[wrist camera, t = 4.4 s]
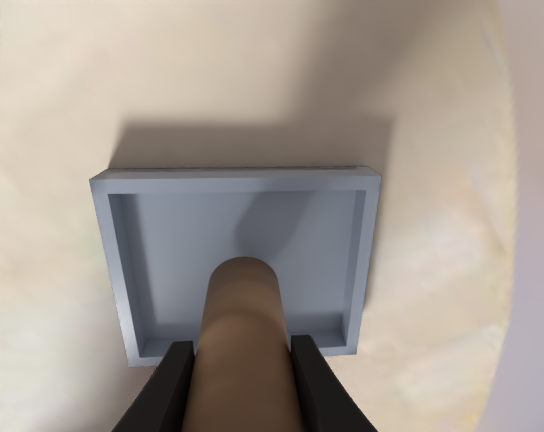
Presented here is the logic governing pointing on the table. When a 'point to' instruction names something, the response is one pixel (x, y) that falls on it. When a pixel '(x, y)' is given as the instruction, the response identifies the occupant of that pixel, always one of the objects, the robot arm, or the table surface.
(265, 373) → the dowel
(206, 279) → the tray
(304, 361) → the robot arm
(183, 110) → the table surface
